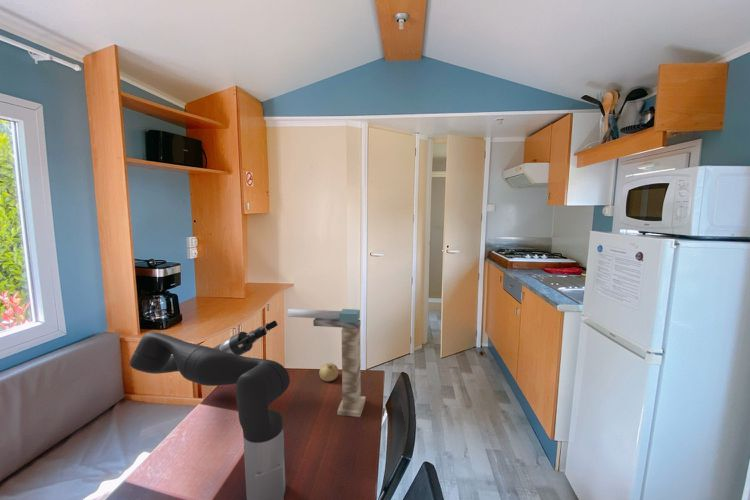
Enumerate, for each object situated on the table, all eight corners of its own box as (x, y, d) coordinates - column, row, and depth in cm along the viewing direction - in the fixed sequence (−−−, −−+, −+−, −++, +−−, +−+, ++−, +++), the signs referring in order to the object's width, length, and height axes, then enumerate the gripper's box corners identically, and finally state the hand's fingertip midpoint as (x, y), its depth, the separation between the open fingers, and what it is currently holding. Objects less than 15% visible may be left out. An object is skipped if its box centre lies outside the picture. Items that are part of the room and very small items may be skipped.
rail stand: (365, 400, 124) (365, 316, 120) (360, 417, 114) (359, 326, 110) (321, 396, 126) (319, 314, 122) (312, 412, 116) (309, 323, 112)
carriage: (359, 318, 117) (359, 309, 117) (356, 322, 112) (356, 314, 112) (292, 314, 121) (291, 306, 121) (286, 319, 116) (286, 310, 116)
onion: (315, 379, 139) (315, 363, 138) (329, 372, 145) (329, 356, 144) (328, 386, 134) (328, 369, 133) (342, 378, 140) (342, 362, 139)
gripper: (219, 345, 116) (255, 324, 113) (241, 330, 130) (274, 311, 127) (230, 363, 117) (267, 343, 113) (251, 346, 131) (284, 328, 127)
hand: (270, 326), depth 120 cm, fingers open, 8 cm apart
